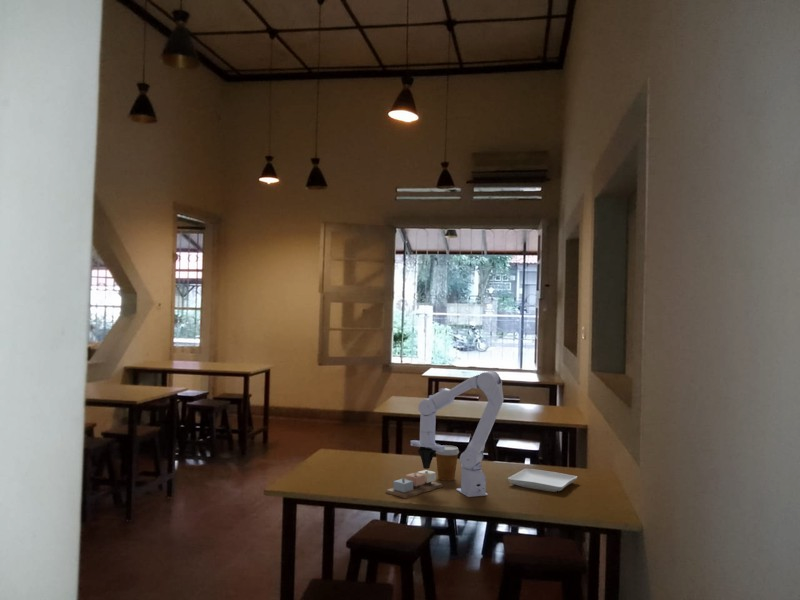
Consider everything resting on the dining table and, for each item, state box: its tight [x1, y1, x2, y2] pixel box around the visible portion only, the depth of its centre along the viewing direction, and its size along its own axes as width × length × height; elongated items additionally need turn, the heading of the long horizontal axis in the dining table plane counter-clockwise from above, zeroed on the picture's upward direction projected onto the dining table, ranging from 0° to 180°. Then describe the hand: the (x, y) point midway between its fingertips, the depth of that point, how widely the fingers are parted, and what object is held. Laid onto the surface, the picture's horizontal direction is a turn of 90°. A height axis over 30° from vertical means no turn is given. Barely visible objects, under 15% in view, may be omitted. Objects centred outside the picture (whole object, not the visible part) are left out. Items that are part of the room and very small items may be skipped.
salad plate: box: [507, 468, 578, 493], centre depth 240 cm, size 21×21×3 cm
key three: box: [392, 478, 413, 492], centre depth 223 cm, size 5×5×3 cm
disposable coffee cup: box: [435, 444, 460, 482], centre depth 245 cm, size 10×10×12 cm
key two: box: [404, 472, 425, 486], centre depth 228 cm, size 5×5×3 cm
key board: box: [385, 481, 443, 499], centre depth 228 cm, size 21×9×3 cm, turn 139°
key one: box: [416, 469, 437, 483], centre depth 233 cm, size 5×5×3 cm
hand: (426, 468), depth 233 cm, fingers closed
